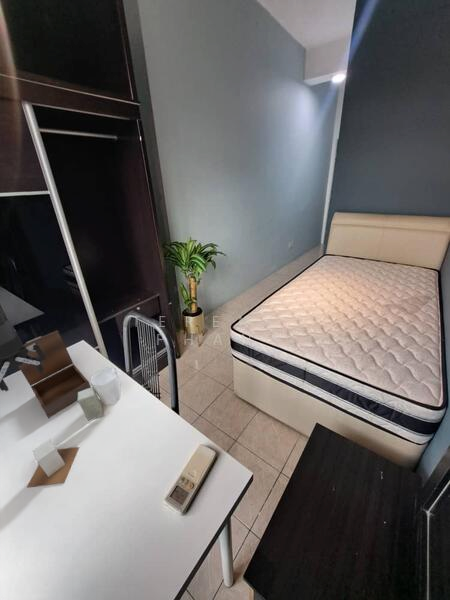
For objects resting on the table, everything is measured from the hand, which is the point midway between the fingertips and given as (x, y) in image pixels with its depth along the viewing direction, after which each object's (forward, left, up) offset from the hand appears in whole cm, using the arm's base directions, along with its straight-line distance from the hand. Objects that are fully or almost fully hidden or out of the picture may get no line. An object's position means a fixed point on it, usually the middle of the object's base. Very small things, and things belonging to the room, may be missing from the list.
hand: (24, 380), depth 74 cm
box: (+13, +3, -23) cm, 26 cm away
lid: (-8, +20, -8) cm, 23 cm away
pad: (+7, -14, -22) cm, 27 cm away
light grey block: (+8, -14, -22) cm, 27 cm away
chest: (-3, +14, -22) cm, 27 cm away
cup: (+18, +9, -23) cm, 30 cm away
